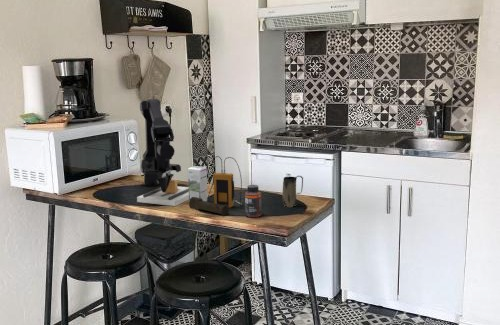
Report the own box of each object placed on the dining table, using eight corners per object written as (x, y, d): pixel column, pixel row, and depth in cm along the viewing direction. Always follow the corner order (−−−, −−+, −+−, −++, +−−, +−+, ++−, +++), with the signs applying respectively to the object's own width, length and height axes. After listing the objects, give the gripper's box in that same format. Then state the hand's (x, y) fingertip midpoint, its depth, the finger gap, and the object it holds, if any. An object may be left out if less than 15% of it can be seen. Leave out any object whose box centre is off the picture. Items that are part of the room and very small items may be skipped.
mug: (280, 206, 198) (280, 176, 195) (284, 202, 203) (284, 173, 200) (300, 208, 195) (300, 177, 193) (304, 204, 200) (304, 174, 198)
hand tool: (229, 214, 189) (229, 202, 188) (222, 217, 186) (222, 204, 185) (194, 206, 201) (194, 194, 200) (187, 208, 198) (186, 196, 197)
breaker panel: (166, 189, 227) (166, 182, 227) (201, 193, 220) (201, 185, 220) (137, 201, 207) (136, 194, 207) (175, 206, 200) (174, 198, 200)
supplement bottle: (260, 213, 189) (260, 183, 187) (262, 217, 184) (262, 187, 181) (244, 213, 189) (244, 184, 187) (246, 218, 183) (245, 188, 181)
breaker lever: (165, 190, 215) (164, 179, 214) (177, 192, 213) (177, 180, 212) (162, 191, 214) (162, 180, 213) (175, 193, 211) (174, 181, 210)
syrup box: (208, 201, 207) (207, 166, 204) (200, 205, 201) (199, 169, 199) (196, 200, 209) (194, 165, 206) (188, 203, 204) (187, 168, 201)
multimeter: (248, 202, 205) (248, 153, 201) (240, 208, 195) (239, 157, 192) (215, 199, 209) (213, 151, 206) (205, 206, 200) (203, 156, 196)
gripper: (158, 149, 218) (160, 185, 221) (132, 157, 201) (134, 195, 204) (180, 151, 213) (182, 187, 216) (155, 159, 197) (157, 198, 200)
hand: (164, 191), depth 209 cm, fingers closed
